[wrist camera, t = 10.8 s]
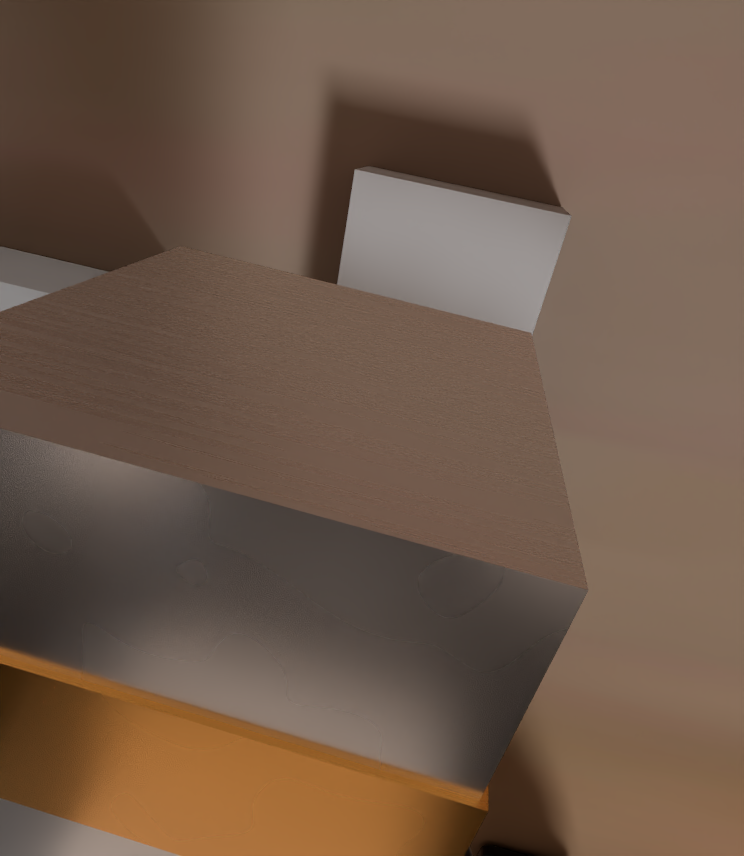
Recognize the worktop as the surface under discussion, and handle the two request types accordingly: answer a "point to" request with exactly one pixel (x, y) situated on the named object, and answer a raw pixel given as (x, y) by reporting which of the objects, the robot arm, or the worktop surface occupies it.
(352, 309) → the beige and orange bar
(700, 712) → the worktop surface
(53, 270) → the tray
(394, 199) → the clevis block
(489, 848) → the robot arm
